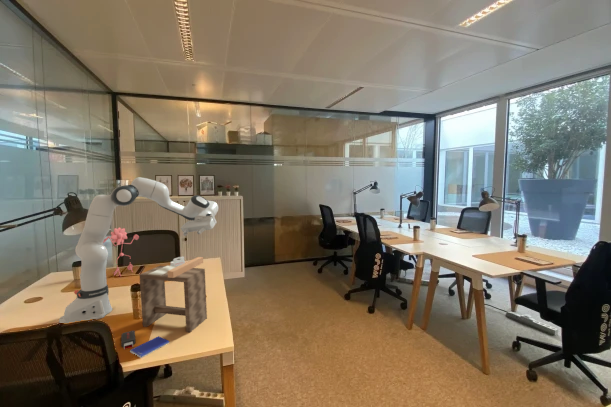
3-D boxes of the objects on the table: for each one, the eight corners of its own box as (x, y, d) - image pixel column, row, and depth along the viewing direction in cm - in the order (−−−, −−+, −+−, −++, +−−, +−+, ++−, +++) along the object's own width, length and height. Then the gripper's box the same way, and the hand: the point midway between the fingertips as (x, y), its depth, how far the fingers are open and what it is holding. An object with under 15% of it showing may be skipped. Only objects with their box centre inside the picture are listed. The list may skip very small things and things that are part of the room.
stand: (190, 332, 136) (187, 277, 134) (142, 326, 143) (139, 273, 140) (206, 318, 150) (204, 267, 148) (163, 313, 156) (160, 264, 154)
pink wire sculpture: (144, 269, 231) (140, 225, 227) (109, 280, 208) (104, 231, 205) (132, 267, 238) (128, 224, 235) (97, 277, 215) (92, 229, 212)
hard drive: (140, 355, 118) (169, 340, 128) (129, 349, 122) (158, 335, 132) (141, 359, 118) (169, 344, 128) (130, 353, 122) (158, 339, 132)
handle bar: (173, 277, 135) (173, 271, 134) (167, 277, 135) (167, 271, 135) (203, 262, 158) (203, 257, 158) (198, 262, 159) (198, 256, 158)
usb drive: (135, 334, 136) (134, 328, 136) (135, 347, 126) (135, 341, 126) (121, 337, 133) (121, 332, 133) (121, 351, 123) (121, 345, 123)
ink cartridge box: (182, 274, 218) (181, 255, 216) (185, 275, 215) (184, 256, 214) (170, 277, 211) (169, 257, 210) (174, 279, 208) (173, 258, 207)
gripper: (186, 217, 180) (173, 231, 169) (214, 213, 175) (204, 227, 163) (190, 225, 183) (178, 239, 172) (219, 222, 178) (208, 236, 166)
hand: (191, 234), depth 168 cm, fingers open, 8 cm apart
